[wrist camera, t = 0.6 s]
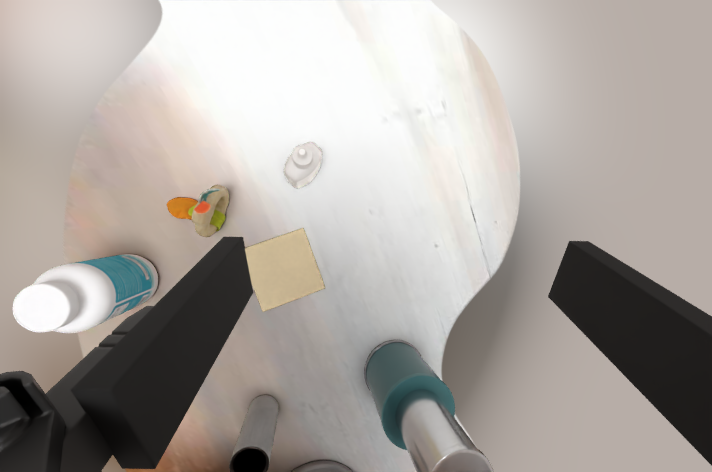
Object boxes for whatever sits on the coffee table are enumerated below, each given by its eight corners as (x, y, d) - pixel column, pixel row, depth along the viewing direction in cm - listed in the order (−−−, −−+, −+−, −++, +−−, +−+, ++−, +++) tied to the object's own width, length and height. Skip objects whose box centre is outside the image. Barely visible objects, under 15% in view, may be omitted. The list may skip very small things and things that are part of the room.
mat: (325, 287, 44) (325, 288, 44) (263, 311, 43) (262, 312, 42) (303, 227, 43) (303, 227, 43) (239, 250, 42) (238, 250, 41)
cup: (450, 425, 36) (503, 500, 26) (403, 448, 35) (439, 535, 25) (435, 378, 36) (482, 437, 26) (386, 400, 35) (416, 470, 25)
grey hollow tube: (282, 416, 44) (274, 474, 33) (254, 427, 43) (236, 490, 33) (273, 390, 43) (262, 440, 33) (244, 401, 43) (223, 456, 32)
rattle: (198, 166, 40) (154, 143, 29) (246, 200, 42) (222, 191, 30) (165, 207, 40) (108, 201, 28) (215, 241, 41) (179, 247, 30)
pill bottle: (109, 248, 39) (4, 260, 26) (166, 259, 40) (94, 277, 27) (96, 300, 39) (-16, 339, 26) (153, 310, 40) (75, 353, 27)
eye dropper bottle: (326, 180, 43) (332, 163, 31) (291, 191, 43) (284, 178, 31) (316, 153, 43) (319, 125, 31) (281, 163, 42) (270, 139, 30)
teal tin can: (429, 383, 47) (465, 430, 37) (375, 408, 46) (395, 465, 35) (411, 330, 47) (442, 362, 36) (355, 354, 45) (370, 394, 34)
